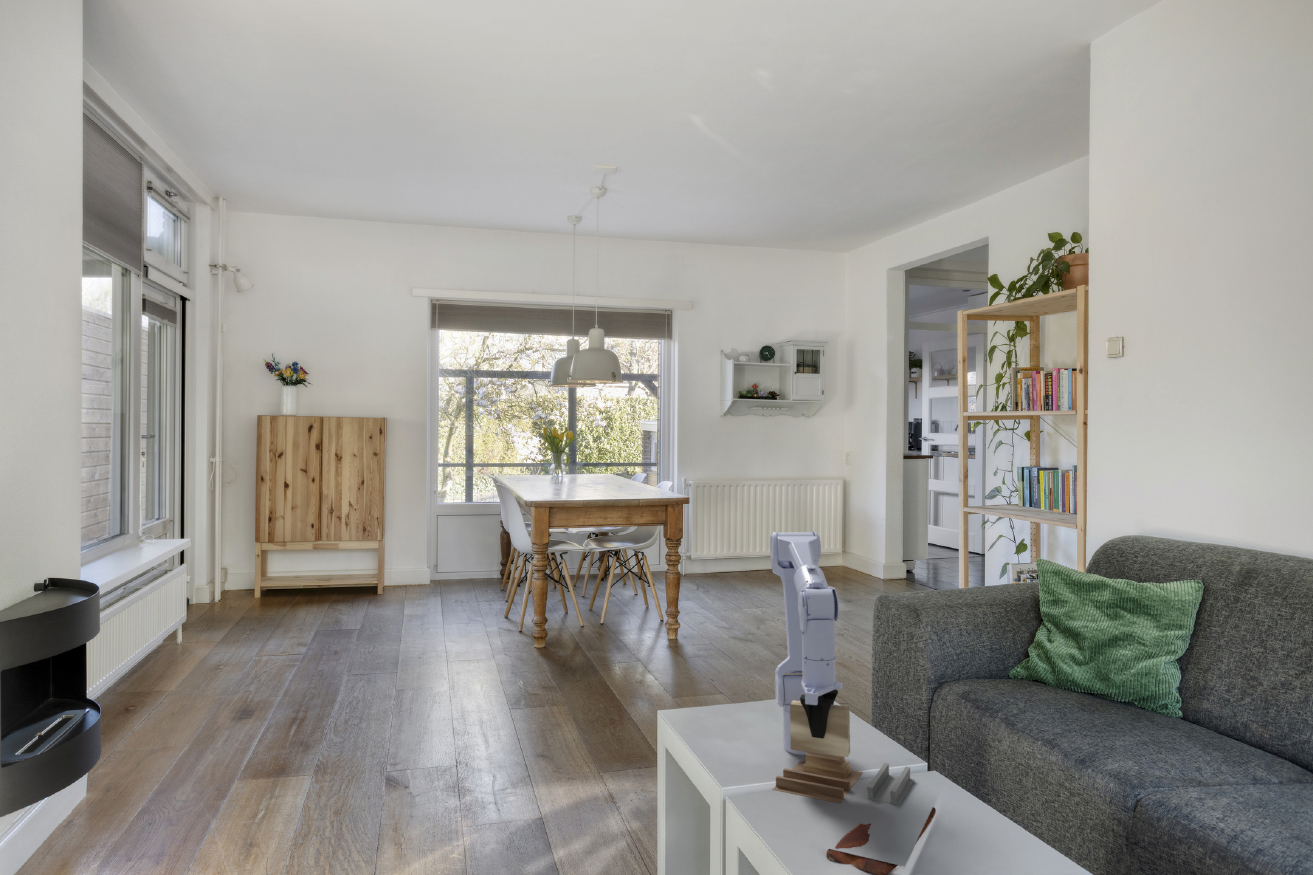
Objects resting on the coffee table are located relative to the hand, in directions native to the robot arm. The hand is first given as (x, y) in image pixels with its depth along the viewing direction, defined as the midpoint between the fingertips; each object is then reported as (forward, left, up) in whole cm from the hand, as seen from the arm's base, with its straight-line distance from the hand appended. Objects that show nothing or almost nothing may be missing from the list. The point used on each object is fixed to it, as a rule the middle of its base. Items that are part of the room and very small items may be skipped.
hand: (819, 734), depth 141 cm
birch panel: (0, 0, -3) cm, 3 cm away
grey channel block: (-5, +11, -10) cm, 16 cm away
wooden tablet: (+10, +14, -11) cm, 20 cm away
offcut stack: (-8, -1, -9) cm, 12 cm away
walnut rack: (-3, -1, -10) cm, 11 cm away
